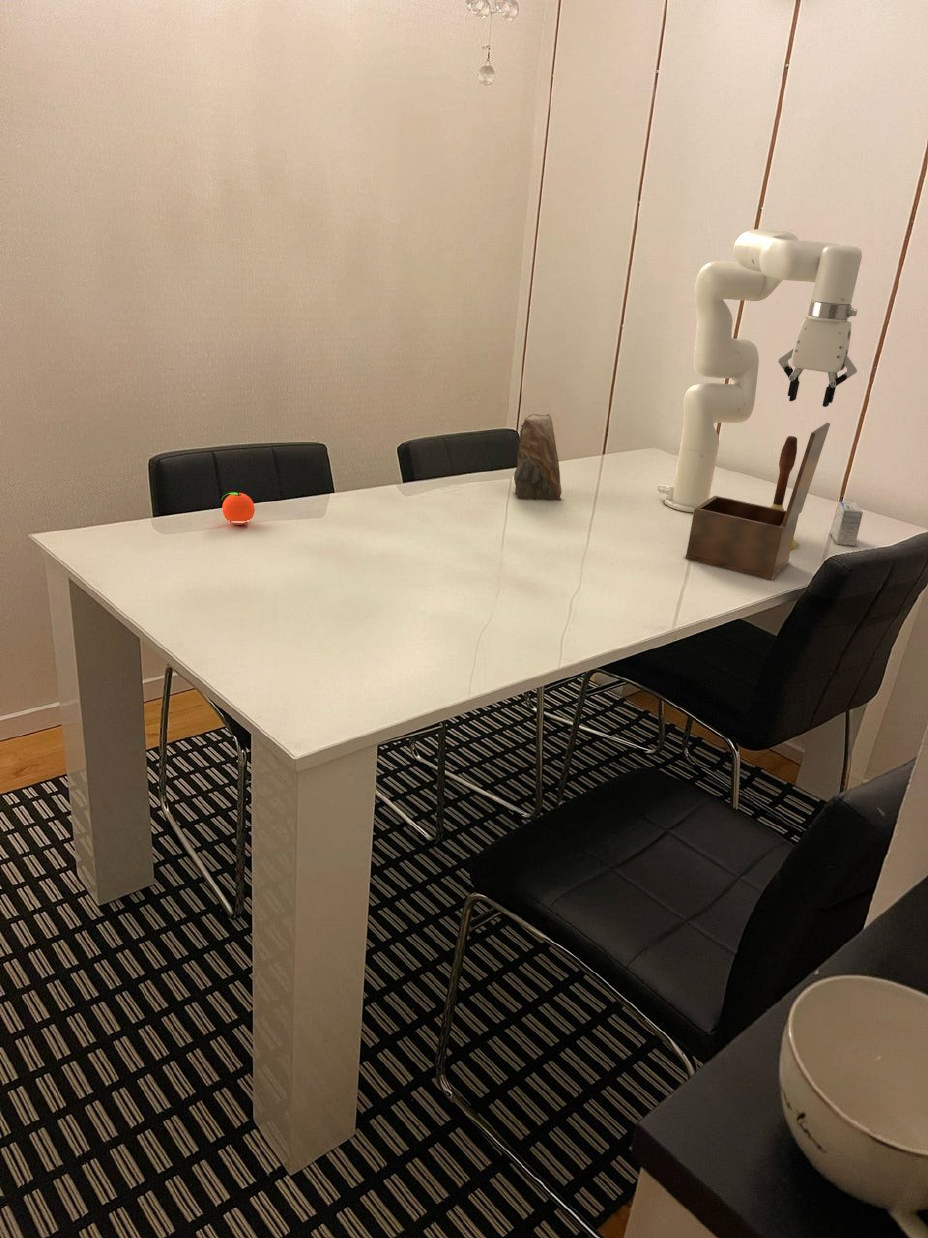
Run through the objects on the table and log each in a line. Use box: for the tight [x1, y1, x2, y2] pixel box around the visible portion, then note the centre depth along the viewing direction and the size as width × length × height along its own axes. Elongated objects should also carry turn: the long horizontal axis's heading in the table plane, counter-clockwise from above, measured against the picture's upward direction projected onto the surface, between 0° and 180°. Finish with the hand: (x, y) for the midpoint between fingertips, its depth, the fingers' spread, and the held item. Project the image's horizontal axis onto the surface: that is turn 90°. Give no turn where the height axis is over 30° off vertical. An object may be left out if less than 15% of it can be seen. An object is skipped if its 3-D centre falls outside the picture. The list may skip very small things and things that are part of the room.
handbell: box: [770, 435, 798, 550], centre depth 217 cm, size 12×12×25 cm
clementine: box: [220, 492, 256, 526], centre depth 204 cm, size 8×7×7 cm
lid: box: [782, 422, 831, 527], centre depth 194 cm, size 20×14×1 cm
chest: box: [685, 495, 800, 581], centre depth 205 cm, size 19×14×12 cm
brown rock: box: [513, 413, 562, 501], centre depth 241 cm, size 13×13×20 cm
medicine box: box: [831, 501, 864, 547], centre depth 225 cm, size 8×4×9 cm, turn 168°
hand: (808, 402), depth 193 cm, fingers open, 6 cm apart
